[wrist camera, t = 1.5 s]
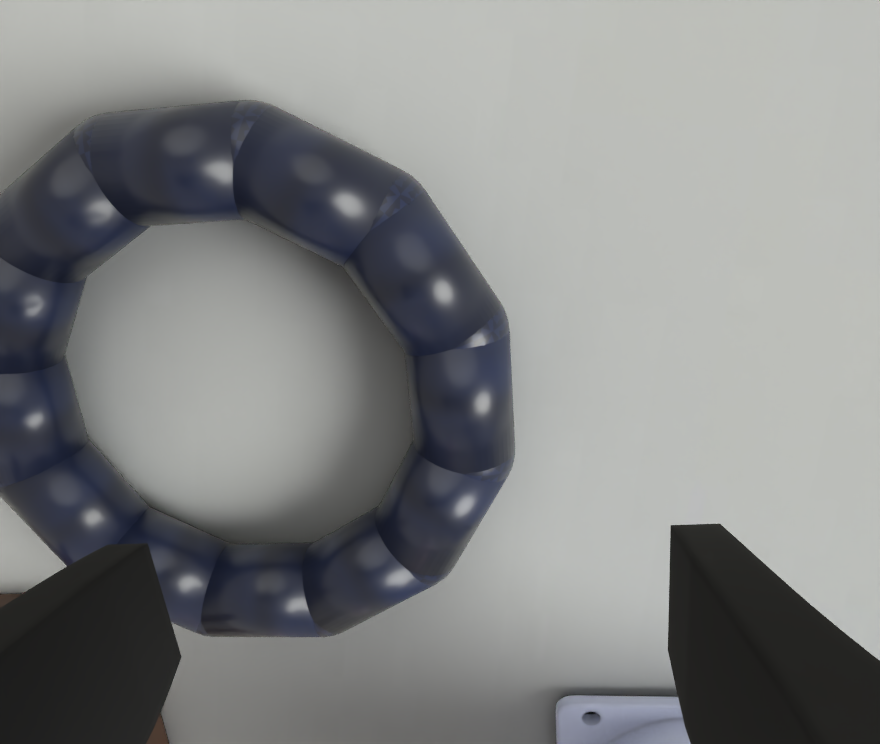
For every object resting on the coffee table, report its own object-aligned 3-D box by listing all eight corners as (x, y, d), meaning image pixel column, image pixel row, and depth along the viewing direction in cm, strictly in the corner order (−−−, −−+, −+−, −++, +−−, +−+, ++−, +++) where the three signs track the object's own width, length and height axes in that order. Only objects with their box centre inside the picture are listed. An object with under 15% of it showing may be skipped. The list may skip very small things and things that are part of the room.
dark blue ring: (498, 79, 15) (496, 75, 13) (522, 596, 20) (524, 659, 17) (-71, 130, 17) (-160, 134, 14) (76, 597, 21) (25, 655, 19)
